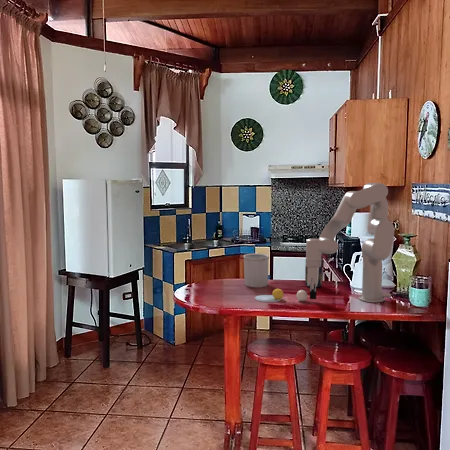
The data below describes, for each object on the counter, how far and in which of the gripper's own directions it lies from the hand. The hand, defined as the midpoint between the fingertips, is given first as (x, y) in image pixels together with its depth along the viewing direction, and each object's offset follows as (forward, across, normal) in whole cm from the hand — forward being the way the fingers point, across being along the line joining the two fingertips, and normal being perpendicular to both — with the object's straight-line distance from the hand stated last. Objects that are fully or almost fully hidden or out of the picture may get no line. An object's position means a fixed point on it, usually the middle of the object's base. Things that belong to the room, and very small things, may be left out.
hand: (313, 298), depth 229 cm
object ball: (-1, 0, -18) cm, 18 cm away
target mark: (+2, 0, -23) cm, 23 cm away
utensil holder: (+2, -29, -35) cm, 45 cm away
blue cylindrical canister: (+2, -33, -2) cm, 33 cm away
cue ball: (-1, 0, -6) cm, 6 cm away
